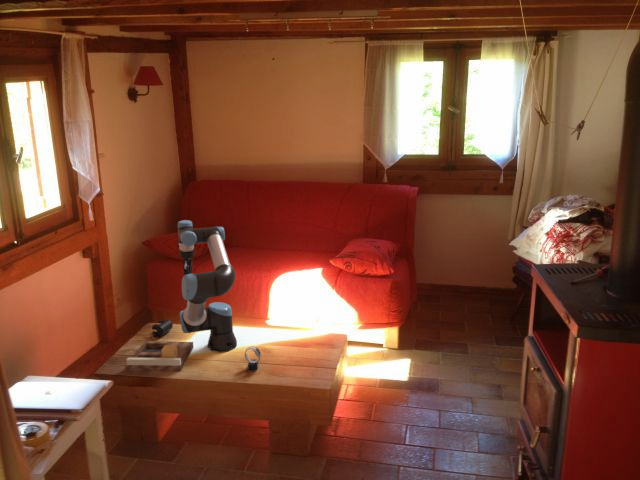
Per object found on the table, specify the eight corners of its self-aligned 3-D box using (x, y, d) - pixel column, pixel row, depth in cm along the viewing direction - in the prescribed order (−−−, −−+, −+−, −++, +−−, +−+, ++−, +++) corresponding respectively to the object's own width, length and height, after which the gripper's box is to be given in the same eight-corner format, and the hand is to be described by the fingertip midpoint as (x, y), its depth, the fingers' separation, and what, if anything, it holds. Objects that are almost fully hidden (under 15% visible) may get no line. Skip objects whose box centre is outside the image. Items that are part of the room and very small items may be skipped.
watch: (261, 370, 286) (260, 350, 283) (244, 370, 286) (243, 350, 283) (262, 365, 292) (261, 344, 289) (246, 365, 292) (245, 344, 289)
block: (177, 355, 295) (176, 344, 294) (174, 361, 290) (173, 350, 288) (166, 355, 296) (165, 344, 294) (162, 361, 290) (161, 350, 288)
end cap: (163, 338, 322) (162, 327, 320) (152, 337, 324) (151, 325, 322) (173, 331, 331) (172, 319, 329) (162, 329, 333) (161, 318, 331)
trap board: (193, 347, 311) (192, 336, 310) (180, 371, 286) (179, 359, 285) (144, 346, 312) (143, 336, 311) (127, 370, 287) (126, 359, 286)
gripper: (182, 246, 316) (185, 287, 323) (176, 253, 304) (180, 296, 310) (196, 245, 316) (199, 287, 323) (191, 253, 304) (194, 296, 310)
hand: (189, 291), depth 317 cm, fingers closed
